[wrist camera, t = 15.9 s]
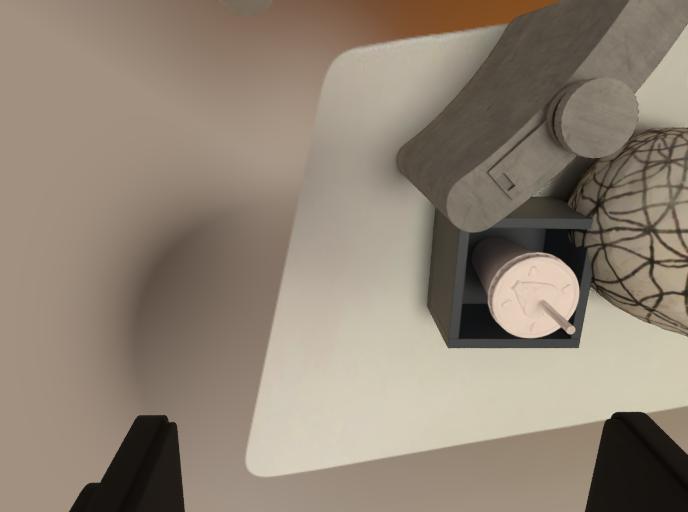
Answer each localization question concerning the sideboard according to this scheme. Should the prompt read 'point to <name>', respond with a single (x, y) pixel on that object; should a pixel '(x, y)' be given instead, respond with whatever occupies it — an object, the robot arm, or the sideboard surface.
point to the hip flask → (541, 105)
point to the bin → (465, 286)
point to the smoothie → (526, 288)
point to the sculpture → (639, 227)
